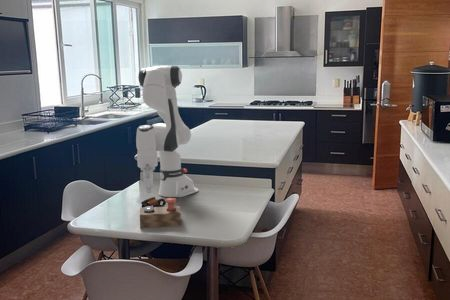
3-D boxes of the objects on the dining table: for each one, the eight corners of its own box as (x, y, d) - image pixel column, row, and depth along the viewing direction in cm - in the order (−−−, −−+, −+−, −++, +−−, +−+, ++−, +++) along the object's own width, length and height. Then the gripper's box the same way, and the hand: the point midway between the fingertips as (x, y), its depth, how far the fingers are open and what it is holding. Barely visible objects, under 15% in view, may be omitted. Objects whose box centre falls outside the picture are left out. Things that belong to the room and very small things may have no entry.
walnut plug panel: (179, 218, 218) (179, 205, 216) (181, 225, 208) (180, 212, 207) (140, 220, 215) (140, 207, 214) (140, 227, 205) (139, 215, 204)
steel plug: (154, 220, 213) (154, 206, 212) (154, 223, 209) (154, 209, 207) (144, 220, 212) (143, 206, 211) (144, 224, 208) (143, 209, 207)
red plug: (176, 211, 214) (175, 197, 212) (176, 214, 209) (176, 200, 208) (166, 212, 213) (165, 197, 212) (166, 215, 209) (165, 200, 207)
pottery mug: (146, 217, 221) (140, 201, 222) (144, 220, 230) (138, 204, 231) (170, 207, 225) (163, 192, 226) (167, 210, 234) (160, 195, 235)
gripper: (154, 167, 196) (156, 198, 199) (154, 156, 215) (156, 185, 218) (139, 168, 195) (141, 199, 198) (140, 157, 215) (142, 186, 217)
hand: (149, 192), depth 208 cm, fingers closed
